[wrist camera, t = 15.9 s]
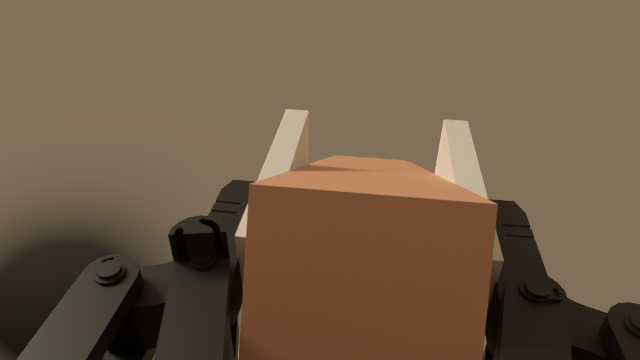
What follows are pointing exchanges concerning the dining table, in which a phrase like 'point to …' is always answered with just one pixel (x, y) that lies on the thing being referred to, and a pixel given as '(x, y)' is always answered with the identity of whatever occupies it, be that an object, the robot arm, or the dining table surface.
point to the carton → (365, 264)
